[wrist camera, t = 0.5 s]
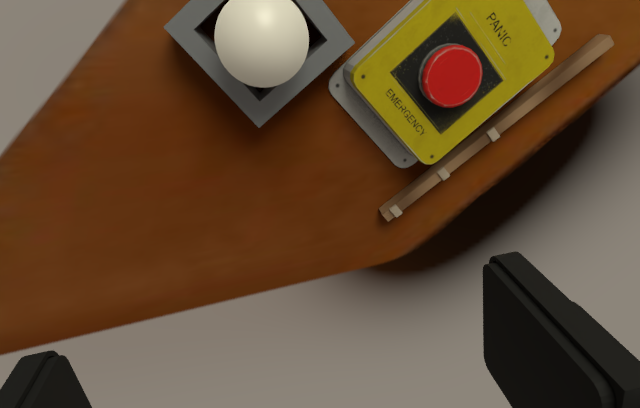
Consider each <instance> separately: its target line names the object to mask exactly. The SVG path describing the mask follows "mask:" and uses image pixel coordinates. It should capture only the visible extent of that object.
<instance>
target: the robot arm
mask: <svg viewBox="0 0 640 408" xmlns="http://www.w3.org/2000/svg"><path fill="white" fill-rule="evenodd" d="M483 335H484V359H485V363H486V366H487V368H488V370H489V372H490V373H491V375H492V377H493V378H494V380H495V381H496V383H497V384H498V386H499V387H500V389H501V391H502V392H503V394H504V395H505V397H506V398H507V400H508V401H509V403H510V404H511V406H512V408H640V361H639V360H638V359H637V358H636V357H635V356H633V355H632V354H631V353H630V352H629V351H628V350H627V349H626V348H625V347H624V346H623V345H622V344H620V343H619V342H618V341H617V340H616V339H615V338H614V337H613V336H612V335H611V334H609V332H607V331H606V330H605V329H604V328H603V327H602V326H601V325H600V324H599V323H598V322H597V321H596V320H595V319H593V318H592V317H591V316H590V315H589V314H588V313H587V312H586V311H585V310H584V309H583V308H582V307H580V306H579V305H577V304H576V303H575V302H572V301H571V300H569V299H568V298H567V297H566V296H565V295H564V294H563V293H562V292H561V291H560V290H559V289H558V288H557V287H555V286H554V285H553V284H552V283H551V282H550V281H549V280H548V279H547V278H546V277H545V276H544V275H543V274H542V273H541V272H539V271H538V270H537V269H536V268H535V267H534V266H533V265H532V264H531V263H530V262H529V261H527V259H526V258H524V257H523V256H522V255H521V254H520V253H519V252H511V253H507V254H502V255H497V256H493V257H491V258H490V261H489V264H486V265H484V267H483ZM0 408H92V407H91V405H90V403H89V401H88V399H87V397H86V395H85V393H84V391H83V389H82V387H81V385H80V383H79V381H78V379H77V377H76V375H75V373H74V371H73V369H72V367H71V365H70V363H69V361H68V359H67V358H66V357H65V356H63V355H61V356H59V355H58V354H57V353H56V352H55V351H47V352H42V353H37V354H32V355H28V356H24V357H22V358H21V359H20V360H19V362H18V363H17V365H16V366H15V368H14V369H13V371H12V372H11V374H10V375H9V377H8V379H7V380H6V382H5V383H4V385H3V386H2V388H1V389H0Z"/></svg>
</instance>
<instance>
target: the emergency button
mask: <svg viewBox="0 0 640 408" xmlns="http://www.w3.org/2000/svg"><path fill="white" fill-rule="evenodd" d="M560 32H561V25H560V22H559V20H558V18H557V17H556V15H555V13H554V12H553V10H552V8H551V7H550V5H549V3H548V1H547V0H410V1H409V2H408V3H407V4H406V5H405V6H404V7H403V8H402V9H401V10H400V11H399V12H397V13H396V14H395V15H394V16H393V17H392V18H391V19H390V20H389V21H388V22H387V23H386V24H385V25H384V26H383V27H382V28H381V29H380V30H379V31H377V32H376V33H375V34H374V35H373V36H372V37H371V38H370V39H369V40H368V41H367V42H366V43H365V44H364V45H363V46H362V47H361V48H360V49H359V50H358V51H356V52H355V53H354V54H353V55H352V56H351V57H350V58H349V59H348V60H347V61H346V62H345V63H344V64H343V65H342V66H341V67H340V68H339V69H338V70H337V71H335V72H334V74H333V75H332V77H331V78H330V80H329V85H328V88H329V91H330V93H331V95H332V96H333V97H334V98H335V99H336V100H337V101H338V102H339V103H340V105H341V106H342V107H343V108H344V109H345V110H346V111H347V112H348V113H349V115H350V116H351V117H352V118H353V119H354V120H355V121H356V122H357V123H358V125H359V126H360V127H361V128H362V129H363V130H364V131H365V132H366V133H367V135H368V136H369V137H370V138H371V139H372V140H373V141H374V142H375V143H376V144H377V146H378V147H379V148H380V149H381V150H382V151H383V152H384V153H385V154H386V156H387V157H388V158H389V159H390V160H391V161H392V162H393V163H394V164H395V165H396V166H397V167H399V168H408V167H409V166H411V165H413V164H414V163H416V162H417V161H418V160H419V161H420V162H422V163H424V164H433V163H435V162H437V161H438V160H440V159H441V158H442V157H443V156H444V155H446V154H447V153H448V152H449V151H450V150H451V149H453V148H454V147H455V146H456V145H457V144H458V143H460V142H461V141H462V140H463V139H464V138H466V137H467V136H468V135H469V134H470V133H471V132H473V131H474V130H475V129H476V128H477V127H478V126H480V125H481V124H482V123H483V122H484V121H486V120H487V119H488V118H489V117H490V116H491V115H493V114H494V113H495V112H496V111H497V110H498V109H500V108H501V107H502V106H503V105H504V104H506V103H507V102H508V101H509V100H510V99H511V98H513V97H514V96H515V95H516V94H517V93H519V92H520V91H521V90H522V89H523V88H524V87H526V86H527V85H528V84H529V83H530V82H531V81H533V80H534V79H535V78H536V77H537V76H539V75H540V74H541V73H542V72H543V71H544V70H546V69H547V68H548V67H549V66H550V64H551V63H552V62H553V59H554V51H553V47H552V45H553V44H554V43H555V41H556V40H557V39H558V38H559V35H560Z"/></svg>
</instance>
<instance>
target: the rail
mask: <svg viewBox="0 0 640 408" xmlns="http://www.w3.org/2000/svg"><path fill="white" fill-rule="evenodd" d="M613 45H614V43H613V41H612V39H611V36H610V35H603V34H598V35H596V36H595V37H594V38H593V39H591V40H590V41H589V42H588V43H586V44H585V45H584V46H583V47H581V48H580V49H579V50H578V51H576V52H575V53H574V54H572V55H571V56H570V57H569V58H567V59H566V60H565V61H564V62H562V63H561V64H560V65H559V66H557V67H556V68H555V69H554V70H552V71H551V72H550V73H549V74H547V75H546V76H545V77H544V78H542V79H541V80H540V81H538V82H537V83H536V84H535V85H533V86H532V87H531V88H530V89H528V90H527V91H526V92H525V93H523V94H522V95H521V96H520V97H518V98H517V99H516V100H515V101H513V102H512V103H511V104H510V105H508V106H507V107H506V108H504V109H503V110H502V111H501V112H499V113H498V114H497V115H496V116H494V117H493V118H492V119H491V120H489V121H488V122H487V123H486V124H484V125H483V126H482V127H481V128H479V129H478V130H477V131H476V132H474V133H473V134H472V135H471V136H469V137H468V138H467V139H465V140H464V141H463V142H462V143H460V144H459V145H458V146H457V147H455V148H454V149H453V150H452V151H450V152H449V153H448V154H447V155H445V156H444V157H443V158H442V159H440V160H439V161H438V162H437V163H435V164H434V165H433V166H431V167H430V168H429V169H428V170H426V171H425V172H424V173H423V174H421V175H420V176H419V177H418V178H416V179H415V180H414V181H413V182H411V183H410V184H409V185H408V186H406V187H405V188H404V189H403V190H401V191H400V192H399V193H397V194H396V195H395V196H394V197H392V198H391V199H390V200H389V201H387V202H386V203H385V204H384V205H382V206H381V207H380V208H379V210H380V212H381V214H382V215H383V216H384V217H385V219H386V220H387V221H388V222H389V221H390V220H391V219H393V218H394V217H396V218H397V217H398V216H399V215H401V214H402V211H403V210H404V209H405V208H407V207H408V206H409V205H410V204H412V203H413V202H414V201H416V200H417V199H418V198H419V197H421V196H422V195H423V194H424V193H426V192H427V191H428V190H430V189H431V188H432V187H433V186H435V185H436V184H437V183H438V182H440V181H441V180H442V179H443V180H445V179H447V178H448V177H449V176H450V173H451V172H452V171H454V170H455V169H456V168H458V167H459V166H460V165H461V164H463V163H464V162H465V161H467V160H468V159H469V158H470V157H472V156H473V155H474V154H475V153H477V152H478V151H479V150H481V149H482V148H483V147H484V146H486V145H487V144H488V143H489V142H491V141H493V142H494V141H495V140H497V139H498V138H499V137H500V134H501V133H502V132H504V131H505V130H506V129H507V128H509V127H510V126H511V125H512V124H514V123H515V122H516V121H518V120H519V119H520V118H521V117H523V116H524V115H525V114H526V113H528V112H529V111H530V110H532V109H533V108H534V107H535V106H537V105H538V104H539V103H541V102H542V101H543V100H544V99H546V98H547V97H548V96H549V95H551V94H552V93H553V92H555V91H556V90H557V89H558V88H560V87H561V86H562V85H563V84H565V83H566V82H567V81H569V80H570V79H571V78H572V77H574V76H575V75H576V74H578V73H579V72H580V71H581V70H583V69H584V68H585V67H586V66H588V65H589V64H590V63H592V62H593V61H594V60H595V59H597V58H598V57H599V56H600V55H602V54H603V53H604V52H606V51H607V50H608V49H609V48H611V47H612V46H613Z"/></svg>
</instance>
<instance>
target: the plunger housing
mask: <svg viewBox="0 0 640 408" xmlns="http://www.w3.org/2000/svg"><path fill="white" fill-rule="evenodd" d="M225 1H226V0H190V1H189V2H188V3H187V4H186V5H185V6H184V7H183V8H182V9H181V10H180V11H179V12H178V13H177V14H176V15H175V16H174V17H173V18H172V19H171V20H170V21H169V22H168V23H167V24H166V25H165V26H164V28H165V29H166V30H167V32H168V33H169V34H170V35H171V36H172V37H173V38H174V39H175V40H176V41H177V42H178V43H179V44H180V45H181V46H182V47H183V48H184V49H185V51H186V52H187V53H188V54H189V55H190V56H191V57H192V58H193V59H194V60H195V61H196V62H197V63H198V64H199V65H200V66H201V67H202V68H203V70H204V71H205V72H206V73H207V74H208V75H209V76H210V77H211V78H212V79H213V80H214V81H215V82H216V83H217V84H218V85H219V86H220V88H221V89H222V90H223V91H224V92H225V93H226V94H227V95H228V96H229V97H230V98H231V99H232V100H233V101H234V102H235V103H236V104H237V105H238V107H239V108H240V109H241V110H242V111H243V112H244V113H245V114H246V115H247V116H248V117H249V118H250V119H251V120H252V121H253V122H254V123H255V124H256V126H257V127H258V128H260V127H261V126H262V125H263V124H264V123H265V122H266V121H267V120H269V119H270V118H271V117H272V116H273V115H274V114H275V113H277V112H278V111H279V110H280V109H281V108H282V107H283V106H284V105H286V104H287V103H288V102H289V101H290V100H291V99H292V98H293V97H295V96H296V95H297V94H298V93H299V92H300V91H301V90H302V89H304V88H305V87H306V86H307V85H308V84H309V83H310V82H311V81H313V80H314V79H315V78H316V77H317V76H318V75H319V74H320V73H322V72H323V71H324V70H325V69H326V68H327V67H328V66H329V65H331V64H332V63H333V62H334V61H335V60H336V59H337V58H338V57H340V56H341V55H342V54H343V53H344V52H345V51H346V50H347V49H349V48H350V47H351V46H352V45H353V44H354V43H355V42H354V41H353V40H352V38H351V37H350V36H349V34H348V33H347V32H346V30H345V29H344V28H343V26H342V25H341V24H340V23H339V21H338V20H337V19H336V17H335V16H334V15H333V13H332V12H331V11H330V9H329V8H328V7H327V5H326V4H325V3H324V2H323V0H293V1H294V2H295V4H296V5H297V6H298V7H299V9H300V10H301V11H302V12H303V14H304V15H305V16H306V17H307V19H308V20H309V21H310V22H311V24H312V25H313V26H314V27H315V29H316V30H317V31H318V33H319V34H320V35H321V36H322V37H321V38H319V39H318V40H317V41H316V42H315V43H314V44H313V45H312V46H311V47H310V48H308V52H307V56H306V58H305V61H304V63H303V65H302V66H301V68H300V69H299V71H298V72H297V73H296V74H295V75H294V76H293V77H292V78H290V79H289V80H288V81H286V82H284V83H282V84H280V85H277V86H273V87H267V88H264V89H263V90H262V91H261V92H259V91H258V90H257V89H256V88H255V87H254V86H250V85H247V84H245V83H243V82H241V81H239V80H237V79H236V78H235V77H233V76H232V75H231V74H230V73H229V72H228V71H227V69H226V68H225V67H224V65H223V64H222V62H221V60H220V58H219V56H218V53H217V50H216V46H215V43H214V42H213V41H212V40H211V38H210V37H209V36H208V35H207V34H206V33H205V32H204V31H203V30H202V29H201V27H200V26H201V25H202V24H203V23H204V22H205V21H206V20H207V19H208V18H209V17H210V16H211V15H212V14H213V13H214V12H215V11H216V10H217V9H218V8H219V7H220V6H221V5H222V4H223V3H224V2H225Z"/></svg>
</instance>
